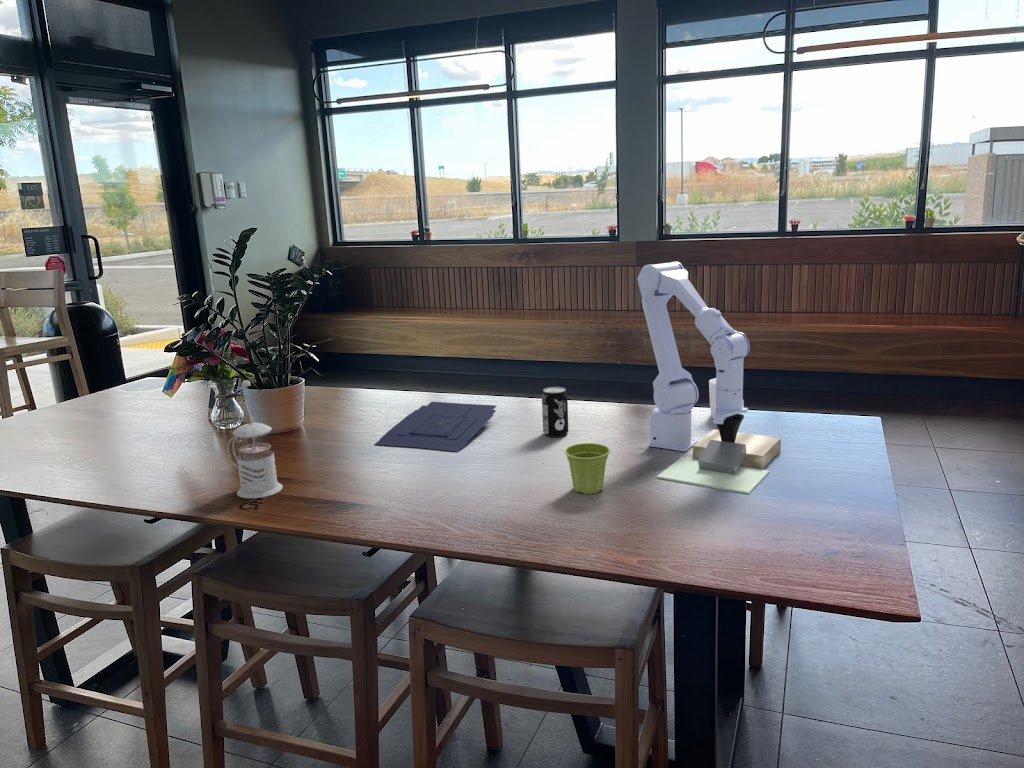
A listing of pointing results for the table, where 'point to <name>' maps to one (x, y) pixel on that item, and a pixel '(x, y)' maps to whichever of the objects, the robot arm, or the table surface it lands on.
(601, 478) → the plant pot
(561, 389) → the beverage can
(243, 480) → the french press
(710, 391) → the white cup
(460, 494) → the table surface
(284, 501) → the table surface
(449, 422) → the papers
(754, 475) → the mat
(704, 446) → the board
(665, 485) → the table surface
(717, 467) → the tile
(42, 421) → the table surface
